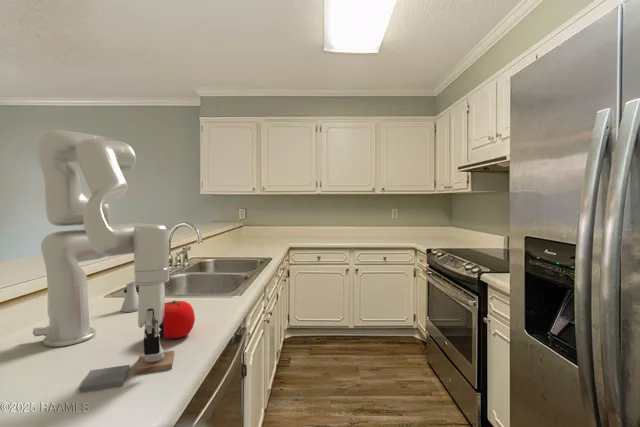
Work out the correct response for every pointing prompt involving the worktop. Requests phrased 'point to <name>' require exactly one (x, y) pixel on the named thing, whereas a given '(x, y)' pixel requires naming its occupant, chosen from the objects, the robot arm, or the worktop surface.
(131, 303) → the flask
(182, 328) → the tomato
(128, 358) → the worktop surface
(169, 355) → the walnut coaster
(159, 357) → the rook chess piece
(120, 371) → the charcoal coaster
